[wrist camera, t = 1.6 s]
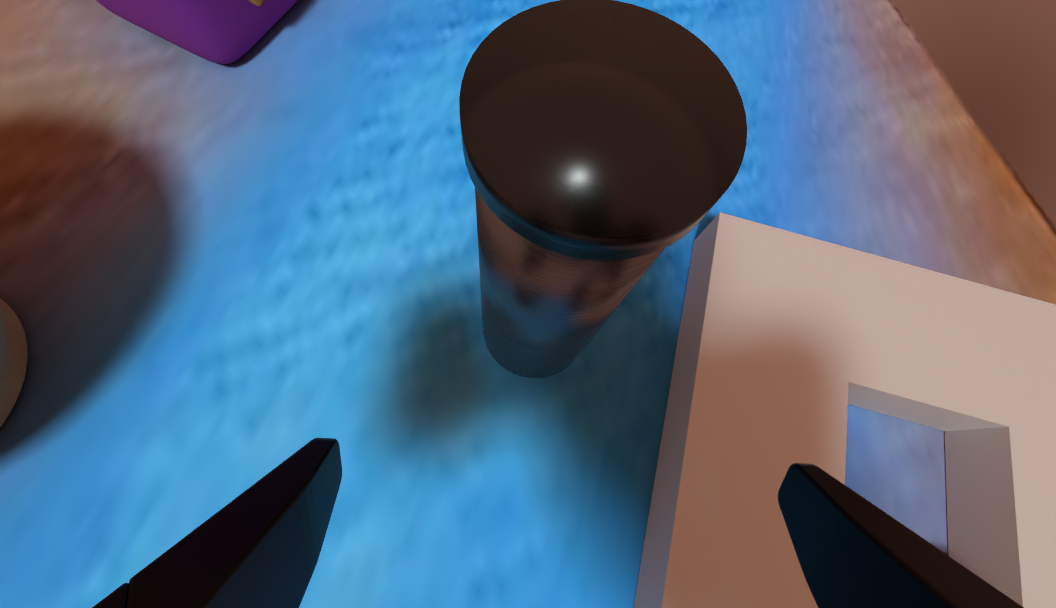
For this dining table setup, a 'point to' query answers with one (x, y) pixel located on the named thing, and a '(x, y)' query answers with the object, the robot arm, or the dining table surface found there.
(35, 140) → the dining table surface
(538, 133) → the tube
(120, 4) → the toy camera
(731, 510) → the mount plate
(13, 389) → the planter bowl
